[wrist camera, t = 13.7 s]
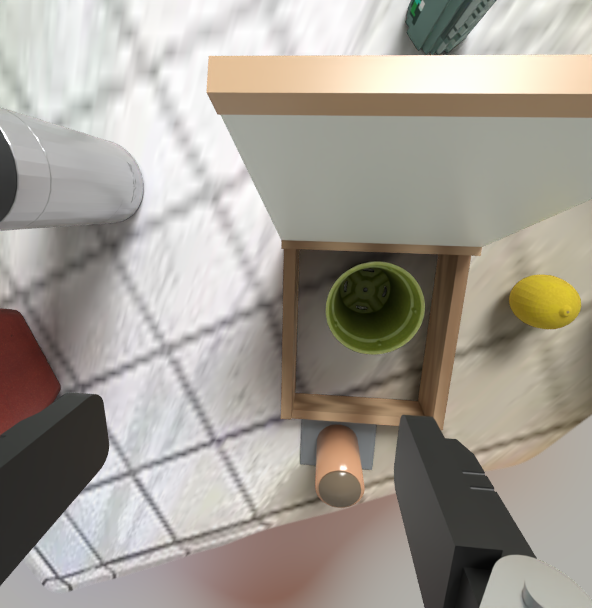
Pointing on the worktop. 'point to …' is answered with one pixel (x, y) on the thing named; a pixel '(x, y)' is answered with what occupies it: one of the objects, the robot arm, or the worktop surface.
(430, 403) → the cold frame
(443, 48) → the can
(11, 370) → the plant pot
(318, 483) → the tan cylinder
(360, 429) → the mat
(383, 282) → the plant pot
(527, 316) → the lemon
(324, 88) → the propped lid
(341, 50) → the worktop surface
